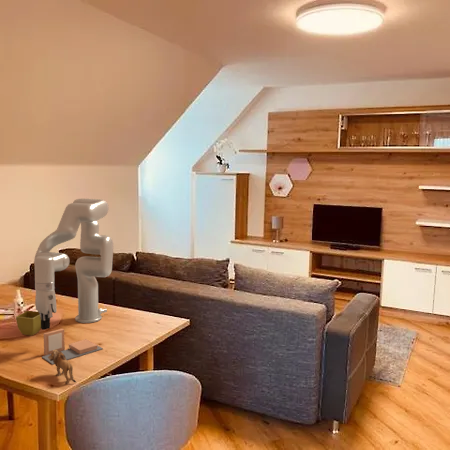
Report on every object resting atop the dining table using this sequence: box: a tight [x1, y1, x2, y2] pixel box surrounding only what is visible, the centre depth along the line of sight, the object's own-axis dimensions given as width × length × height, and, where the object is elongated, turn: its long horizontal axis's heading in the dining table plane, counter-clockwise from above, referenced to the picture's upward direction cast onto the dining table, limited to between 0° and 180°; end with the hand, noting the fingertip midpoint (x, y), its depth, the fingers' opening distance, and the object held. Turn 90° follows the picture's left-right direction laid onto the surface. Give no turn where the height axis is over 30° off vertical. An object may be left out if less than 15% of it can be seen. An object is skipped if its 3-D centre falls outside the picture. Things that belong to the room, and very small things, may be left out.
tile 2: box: [68, 338, 98, 354], centre depth 194 cm, size 8×2×9 cm
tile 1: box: [43, 328, 66, 356], centre depth 190 cm, size 8×2×9 cm, turn 136°
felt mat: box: [41, 345, 104, 366], centre depth 190 cm, size 22×9×1 cm, turn 136°
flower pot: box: [15, 310, 42, 336], centre depth 210 cm, size 9×9×9 cm
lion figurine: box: [48, 349, 77, 385], centre depth 168 cm, size 15×5×9 cm, turn 51°
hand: (45, 328), depth 194 cm, fingers closed
